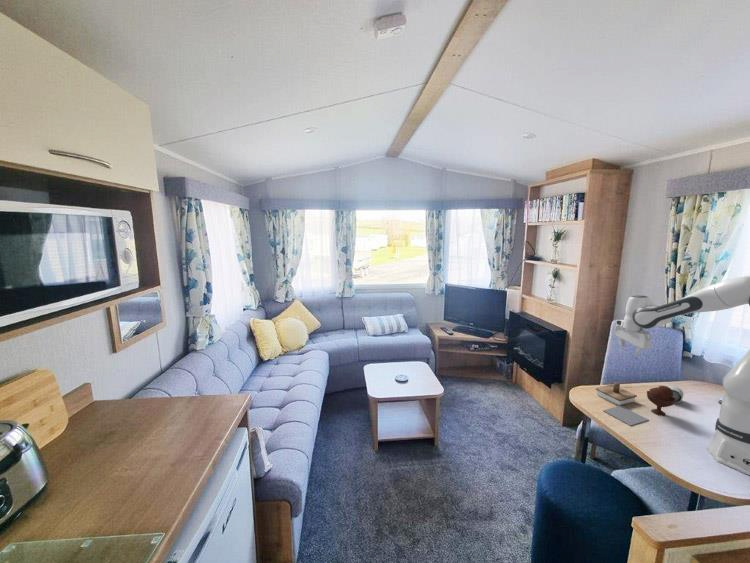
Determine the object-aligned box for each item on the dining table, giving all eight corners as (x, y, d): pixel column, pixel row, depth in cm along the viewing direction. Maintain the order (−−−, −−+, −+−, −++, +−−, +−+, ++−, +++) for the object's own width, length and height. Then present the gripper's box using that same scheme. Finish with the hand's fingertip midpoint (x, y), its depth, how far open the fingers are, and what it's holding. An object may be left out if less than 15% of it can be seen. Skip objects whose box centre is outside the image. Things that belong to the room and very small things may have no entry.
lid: (636, 396, 166) (638, 386, 165) (619, 401, 162) (621, 391, 161) (612, 385, 178) (613, 376, 177) (595, 389, 174) (596, 380, 173)
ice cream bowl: (660, 406, 161) (664, 380, 158) (679, 419, 150) (683, 391, 148) (639, 406, 162) (642, 380, 160) (655, 419, 151) (659, 391, 149)
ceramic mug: (682, 400, 167) (684, 387, 166) (681, 405, 161) (683, 392, 160) (656, 393, 175) (658, 380, 174) (654, 398, 169) (655, 385, 168)
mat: (648, 420, 150) (648, 419, 150) (630, 426, 146) (630, 425, 146) (620, 406, 162) (620, 405, 162) (603, 411, 159) (603, 410, 158)
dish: (634, 401, 166) (635, 396, 166) (619, 405, 163) (619, 400, 162) (611, 390, 178) (612, 386, 177) (596, 394, 174) (597, 389, 174)
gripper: (657, 332, 148) (652, 359, 151) (625, 319, 168) (621, 342, 171) (644, 332, 149) (639, 359, 151) (613, 319, 169) (609, 342, 171)
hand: (629, 350), depth 161 cm, fingers open, 8 cm apart
